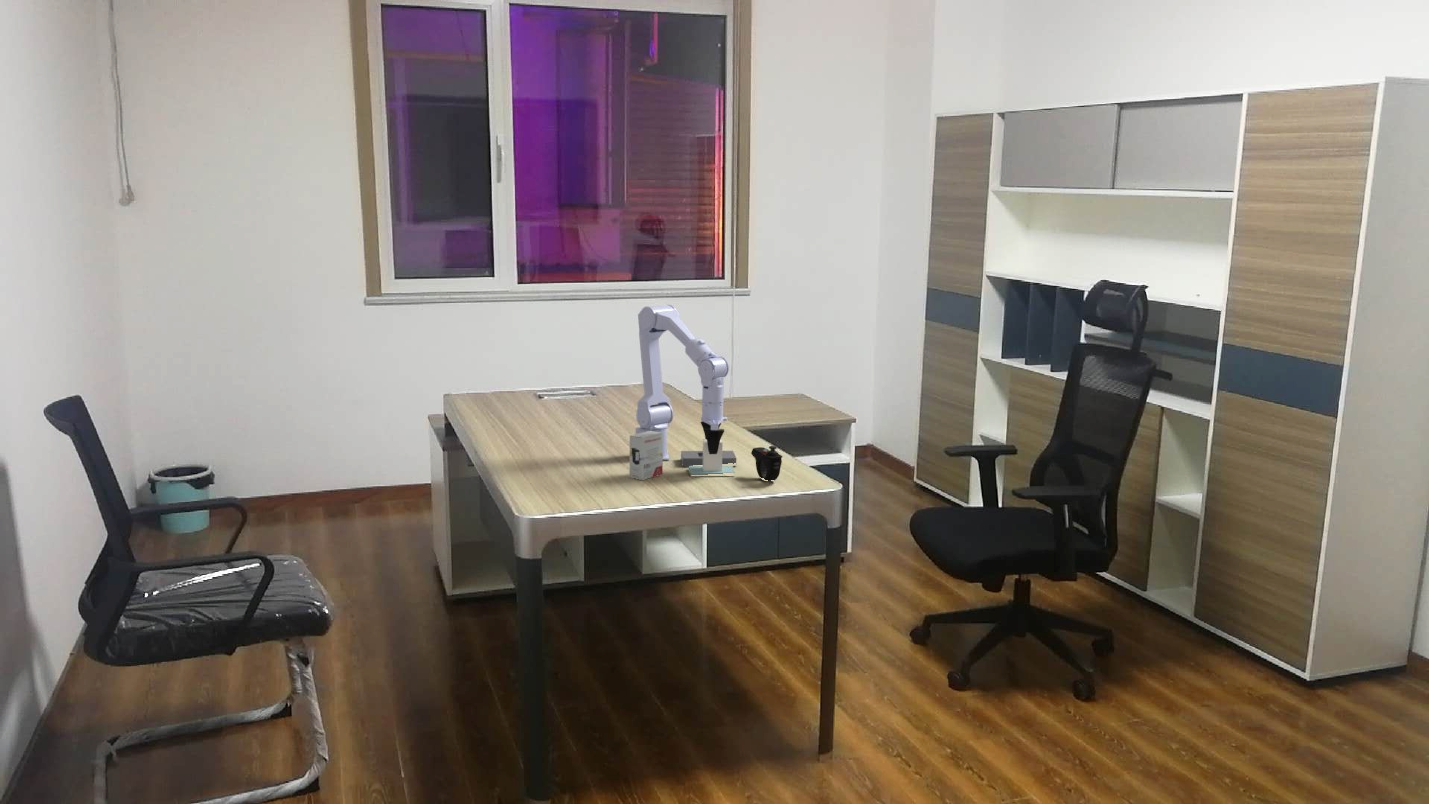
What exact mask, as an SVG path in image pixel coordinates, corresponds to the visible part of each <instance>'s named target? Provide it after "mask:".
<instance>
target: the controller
mask: <svg viewBox="0 0 1429 804" xmlns="http://www.w3.org/2000/svg"><path fill="white" fill-rule="evenodd" d="M777 449H778V447H777V446H776V445H770V446H768V448H765V447H763V446H762V447H761V446H759V447H753V448H752V449H751V452H750V454H751V455H752V457H753V458H754V460H755V469H756V473H757V475H758V478H760V477H761V478H764V479H765V480H768V481H769V482H772V481H771V480H774V481H776V480H777V479H778V478H779V476H780V472H781V467H782V463H783V462H782V461H783V460H782V458H783V455H781V454H779V452H778V451H776V450H777ZM761 478H760V479H761Z"/></svg>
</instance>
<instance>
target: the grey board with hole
mask: <svg viewBox="0 0 1429 804" xmlns="http://www.w3.org/2000/svg"><path fill="white" fill-rule="evenodd" d="M736 456H737V455H736V454H735V452H734V450H722V464H728V463H733V464H734V463H736V464H737V457H736ZM681 460H682V461H681ZM680 461H681V465H682V464H683V465H682V467H683V466H693V465H703V450H680Z"/></svg>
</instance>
